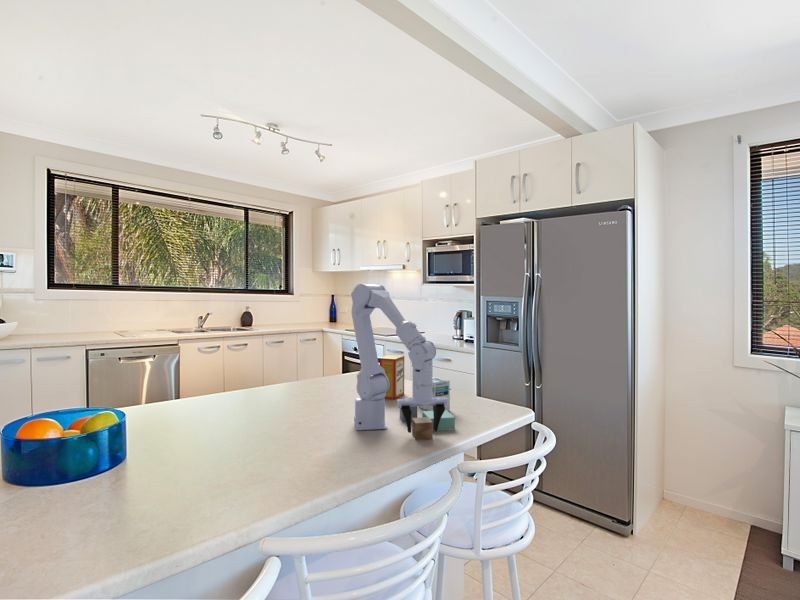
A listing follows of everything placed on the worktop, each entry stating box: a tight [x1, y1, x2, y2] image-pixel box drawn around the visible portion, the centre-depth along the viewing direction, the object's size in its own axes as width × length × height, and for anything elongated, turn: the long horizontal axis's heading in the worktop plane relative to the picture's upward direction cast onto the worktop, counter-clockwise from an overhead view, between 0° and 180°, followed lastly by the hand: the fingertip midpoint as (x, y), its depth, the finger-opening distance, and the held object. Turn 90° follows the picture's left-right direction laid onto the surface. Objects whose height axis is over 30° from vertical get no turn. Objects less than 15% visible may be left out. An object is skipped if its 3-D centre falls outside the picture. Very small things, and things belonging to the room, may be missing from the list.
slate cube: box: [399, 406, 418, 423], centre depth 140 cm, size 5×5×5 cm
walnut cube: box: [411, 417, 434, 441], centre depth 123 cm, size 5×5×5 cm
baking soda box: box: [379, 354, 405, 401], centre depth 170 cm, size 10×6×16 cm
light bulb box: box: [417, 375, 451, 412], centre depth 152 cm, size 11×7×11 cm, turn 34°
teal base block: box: [421, 410, 456, 432], centre depth 133 cm, size 8×8×4 cm
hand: (422, 430), depth 123 cm, fingers open, 7 cm apart
